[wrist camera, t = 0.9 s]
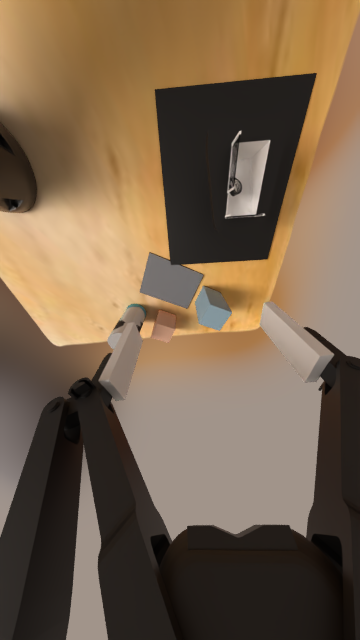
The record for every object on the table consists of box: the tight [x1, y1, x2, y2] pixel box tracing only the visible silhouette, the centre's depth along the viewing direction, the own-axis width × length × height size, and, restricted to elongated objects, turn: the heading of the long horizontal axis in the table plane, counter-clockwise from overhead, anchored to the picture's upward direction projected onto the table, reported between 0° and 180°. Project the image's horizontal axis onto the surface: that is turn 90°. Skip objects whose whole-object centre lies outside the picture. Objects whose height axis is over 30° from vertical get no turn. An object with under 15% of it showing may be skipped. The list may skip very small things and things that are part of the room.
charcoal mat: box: [140, 253, 203, 309], centre depth 42 cm, size 16×12×1 cm
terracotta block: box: [151, 310, 176, 343], centre depth 47 cm, size 6×6×8 cm
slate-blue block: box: [195, 286, 232, 331], centre depth 40 cm, size 6×6×12 cm
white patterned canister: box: [108, 304, 146, 349], centre depth 42 cm, size 7×7×15 cm
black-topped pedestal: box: [155, 73, 317, 265], centre depth 25 cm, size 28×26×13 cm
